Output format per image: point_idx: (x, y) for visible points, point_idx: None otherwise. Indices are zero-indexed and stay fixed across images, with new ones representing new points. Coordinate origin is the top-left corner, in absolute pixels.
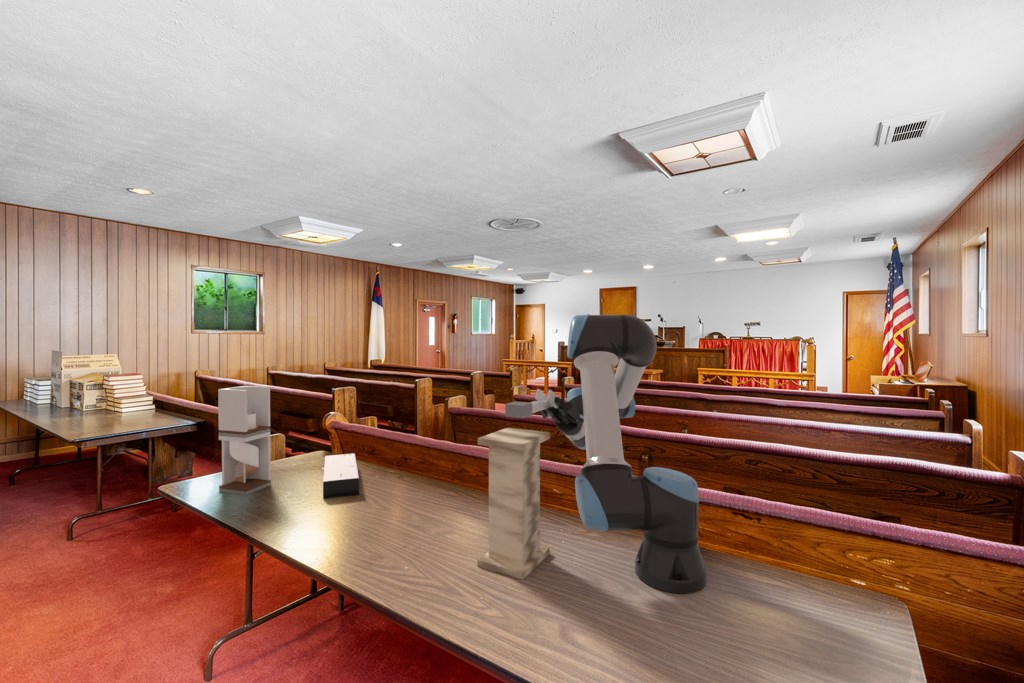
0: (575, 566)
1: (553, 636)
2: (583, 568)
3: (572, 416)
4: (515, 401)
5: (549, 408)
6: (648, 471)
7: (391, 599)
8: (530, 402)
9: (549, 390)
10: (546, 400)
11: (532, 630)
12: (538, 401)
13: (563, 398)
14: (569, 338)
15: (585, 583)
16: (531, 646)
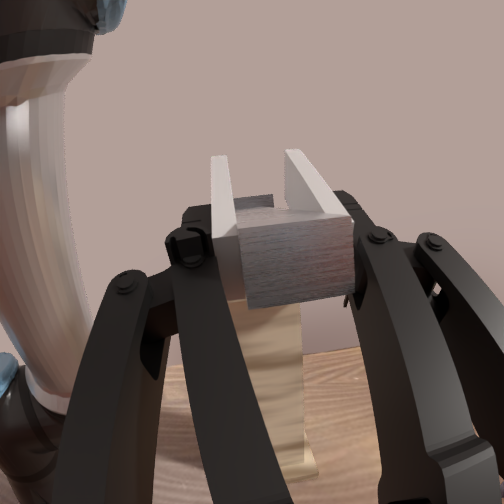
0: (179, 478)
1: (167, 389)
2: (166, 478)
3: (149, 481)
4: (270, 194)
5: (367, 343)
6: (9, 359)
7: (313, 358)
8: (271, 207)
9: (221, 159)
10: (244, 214)
11: (185, 387)
12: (260, 210)
13: (174, 236)
14: None
15: (156, 452)
16: (179, 378)
